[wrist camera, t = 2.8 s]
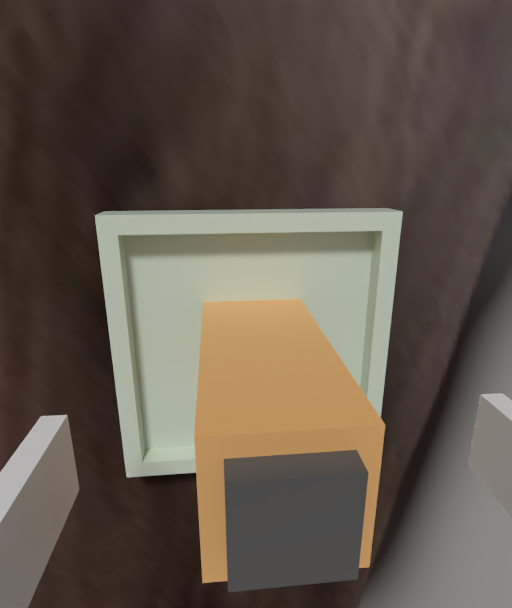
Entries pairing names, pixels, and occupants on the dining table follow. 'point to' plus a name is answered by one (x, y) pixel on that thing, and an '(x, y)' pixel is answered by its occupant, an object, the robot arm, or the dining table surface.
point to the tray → (233, 287)
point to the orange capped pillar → (281, 450)
